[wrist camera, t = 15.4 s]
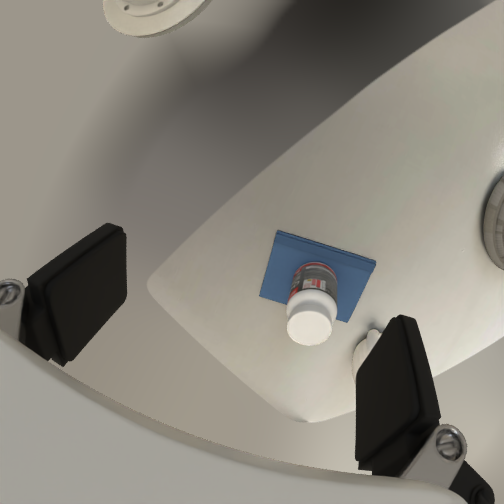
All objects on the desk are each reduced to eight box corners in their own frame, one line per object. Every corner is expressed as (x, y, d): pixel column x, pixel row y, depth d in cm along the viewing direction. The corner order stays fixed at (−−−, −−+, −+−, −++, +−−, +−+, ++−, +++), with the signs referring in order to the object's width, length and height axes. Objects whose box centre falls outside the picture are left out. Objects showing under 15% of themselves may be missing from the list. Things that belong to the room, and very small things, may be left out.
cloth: (259, 294, 42) (258, 297, 41) (277, 230, 37) (276, 232, 36) (347, 321, 40) (347, 324, 40) (375, 260, 36) (376, 263, 35)
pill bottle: (292, 259, 38) (280, 305, 29) (337, 260, 36) (338, 306, 28) (294, 298, 40) (282, 348, 31) (336, 299, 39) (335, 350, 30)
